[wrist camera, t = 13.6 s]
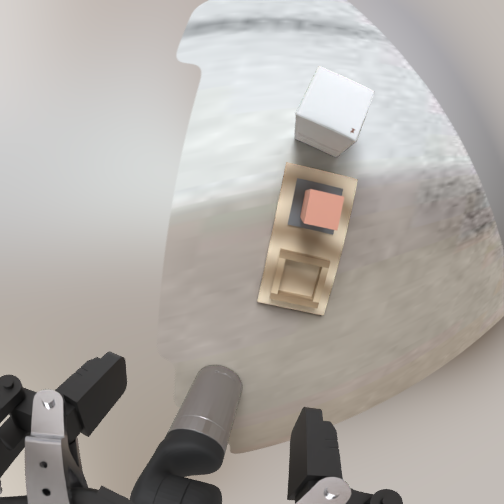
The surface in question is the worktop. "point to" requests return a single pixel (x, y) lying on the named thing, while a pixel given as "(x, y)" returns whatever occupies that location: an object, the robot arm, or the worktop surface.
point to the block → (321, 209)
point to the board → (304, 243)
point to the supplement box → (332, 112)
